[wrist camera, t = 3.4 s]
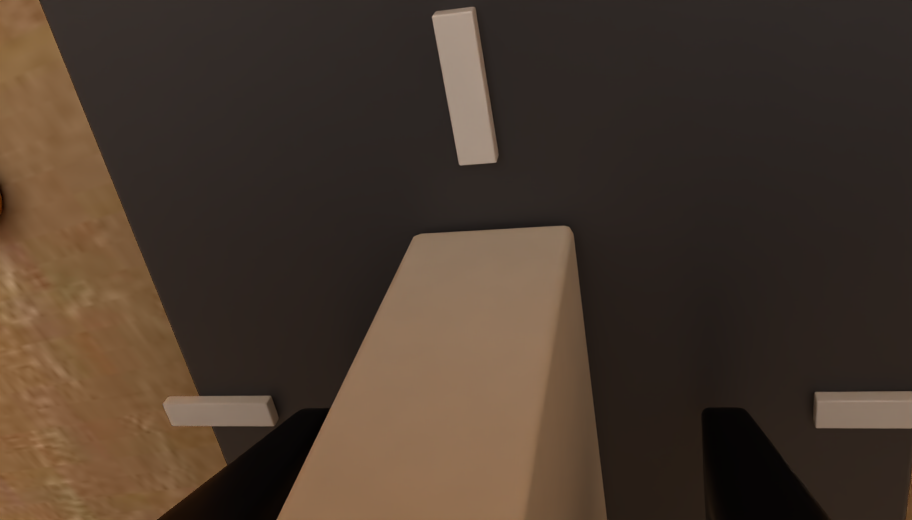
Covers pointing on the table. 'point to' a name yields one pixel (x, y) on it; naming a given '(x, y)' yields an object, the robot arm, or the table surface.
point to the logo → (0, 204)
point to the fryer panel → (535, 205)
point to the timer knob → (465, 392)
